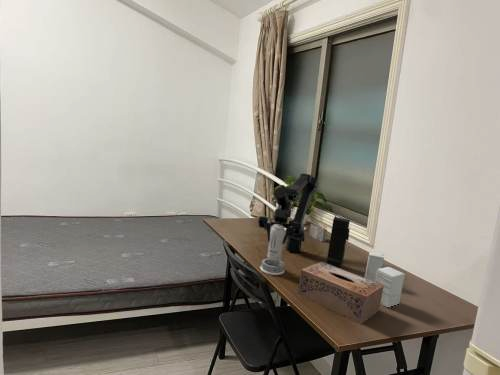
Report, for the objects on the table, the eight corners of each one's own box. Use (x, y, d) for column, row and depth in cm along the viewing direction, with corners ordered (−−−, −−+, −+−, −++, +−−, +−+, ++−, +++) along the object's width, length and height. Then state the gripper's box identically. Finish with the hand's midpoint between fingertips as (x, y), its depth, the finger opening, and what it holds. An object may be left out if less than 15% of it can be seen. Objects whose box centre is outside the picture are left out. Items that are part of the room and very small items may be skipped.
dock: (278, 265, 163) (279, 258, 162) (288, 274, 153) (289, 267, 153) (257, 265, 160) (257, 258, 159) (265, 275, 150) (266, 267, 149)
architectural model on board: (325, 242, 207) (328, 225, 205) (321, 242, 205) (324, 226, 203) (312, 235, 216) (315, 220, 214) (308, 236, 214) (311, 220, 213)
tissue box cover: (378, 311, 131) (383, 285, 129) (361, 324, 120) (366, 296, 119) (317, 284, 148) (321, 261, 146) (297, 294, 137) (301, 269, 135)
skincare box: (364, 281, 156) (369, 254, 154) (364, 277, 160) (368, 251, 158) (379, 284, 154) (384, 257, 152) (378, 280, 159) (383, 254, 156)
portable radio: (344, 265, 172) (353, 214, 167) (342, 269, 166) (351, 217, 162) (328, 261, 175) (336, 211, 171) (325, 265, 170) (333, 213, 165)
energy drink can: (264, 258, 155) (268, 224, 153) (273, 255, 160) (277, 223, 157) (275, 263, 151) (279, 228, 149) (283, 260, 156) (288, 226, 153)
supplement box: (383, 296, 143) (388, 266, 141) (399, 305, 137) (405, 273, 135) (370, 299, 139) (376, 268, 137) (387, 308, 133) (393, 276, 131)
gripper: (261, 198, 157) (252, 229, 148) (304, 205, 153) (297, 237, 144) (263, 211, 166) (255, 241, 157) (304, 218, 162) (297, 249, 153)
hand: (275, 242), depth 153 cm, fingers closed on energy drink can, 6 cm apart
